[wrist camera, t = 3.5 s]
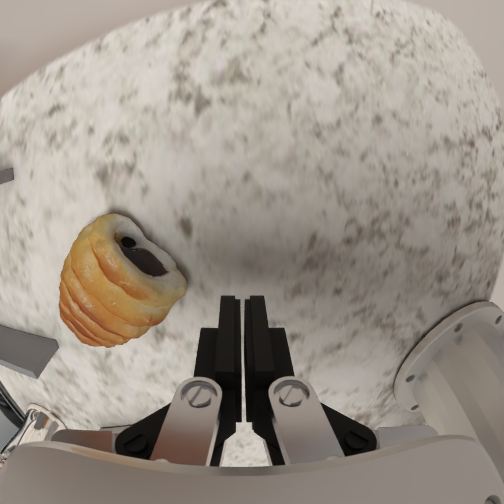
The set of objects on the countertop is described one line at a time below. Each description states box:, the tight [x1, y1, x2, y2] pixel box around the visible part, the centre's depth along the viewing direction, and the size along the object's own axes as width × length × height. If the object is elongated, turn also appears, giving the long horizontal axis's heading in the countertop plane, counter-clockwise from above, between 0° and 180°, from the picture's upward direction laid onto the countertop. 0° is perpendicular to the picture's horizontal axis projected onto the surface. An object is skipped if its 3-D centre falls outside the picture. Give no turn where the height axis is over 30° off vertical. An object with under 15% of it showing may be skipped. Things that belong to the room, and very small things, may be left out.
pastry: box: [59, 213, 187, 348], centre depth 15 cm, size 9×7×4 cm
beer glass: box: [0, 404, 66, 471], centre depth 17 cm, size 7×7×15 cm
